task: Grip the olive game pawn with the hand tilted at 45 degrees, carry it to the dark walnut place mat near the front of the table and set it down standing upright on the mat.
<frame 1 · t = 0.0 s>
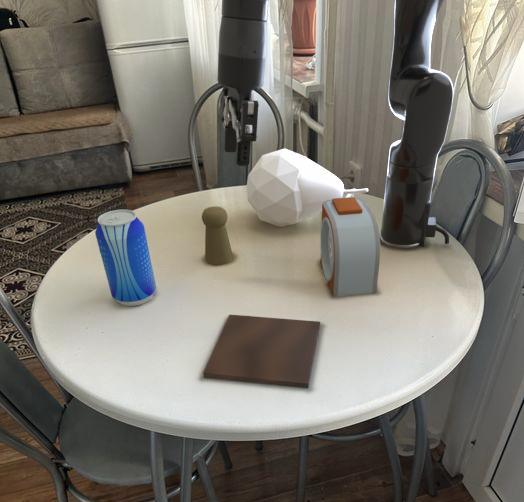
hand: (235, 158, 89), 22 cm above the table, tool pointing down, fingers open, 8 cm apart
pear ornament: (306, 222, 120), on the table
beer can: (135, 297, 96), on the table
olive game pawn: (219, 259, 107), on the table
place mat: (265, 350, 81), on the table
alarm clock: (345, 276, 99), on the table
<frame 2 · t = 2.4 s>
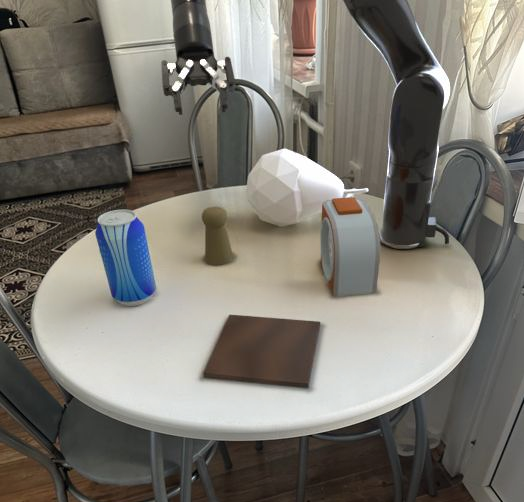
hand: (202, 111, 99), 27 cm above the table, tool tilted 45°, fingers open, 8 cm apart
nothing on the table moved.
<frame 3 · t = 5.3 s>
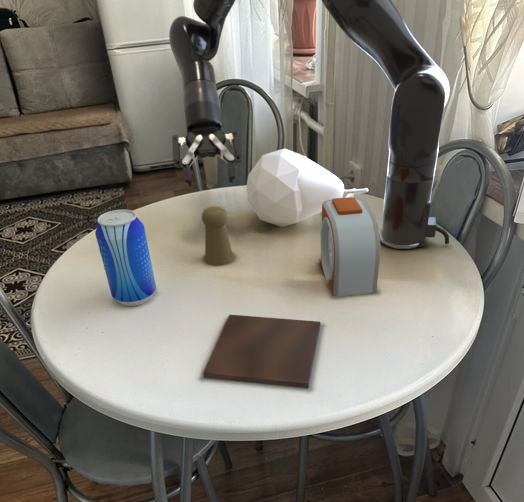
hand: (210, 182, 104), 14 cm above the table, tool tilted 45°, fingers open, 8 cm apart
nothing on the table moved.
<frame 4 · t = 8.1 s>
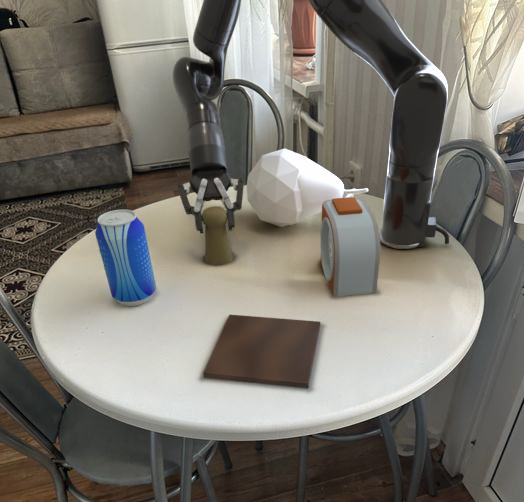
hand: (216, 230, 101), 7 cm above the table, tool tilted 45°, fingers closed on olive game pawn, 5 cm apart
olive game pawn: (219, 259, 107), on the table, touching gripper
everything else where it was.
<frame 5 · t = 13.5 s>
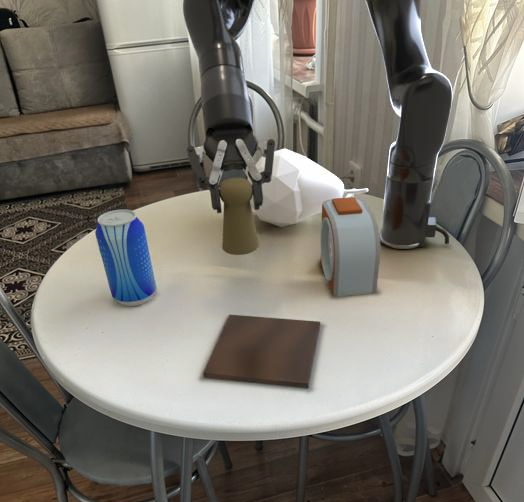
hand: (238, 209, 77), 20 cm above the table, tool tilted 45°, fingers closed on olive game pawn, 5 cm apart
olive game pawn: (240, 247, 83), point 13 cm above the table, touching gripper
everything else where it was.
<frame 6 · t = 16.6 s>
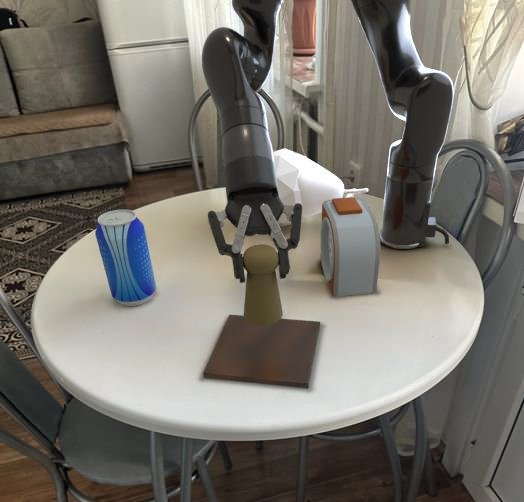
hand: (263, 279, 71), 14 cm above the table, tool tilted 45°, fingers closed on olive game pawn, 5 cm apart
olive game pawn: (263, 315, 77), point 7 cm above the table, touching gripper
everything else where it was.
when the fingers open (8 cm above the table, at t = 18.8 s): olive game pawn stays where it is, resting on place mat.
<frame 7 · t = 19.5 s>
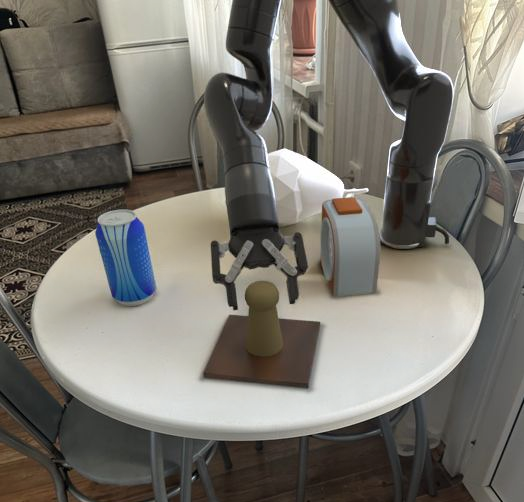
hand: (264, 306, 74), 9 cm above the table, tool tilted 45°, fingers open, 8 cm apart
olive game pawn: (264, 345, 81), point 1 cm above the table, touching place mat
everything else where it was.
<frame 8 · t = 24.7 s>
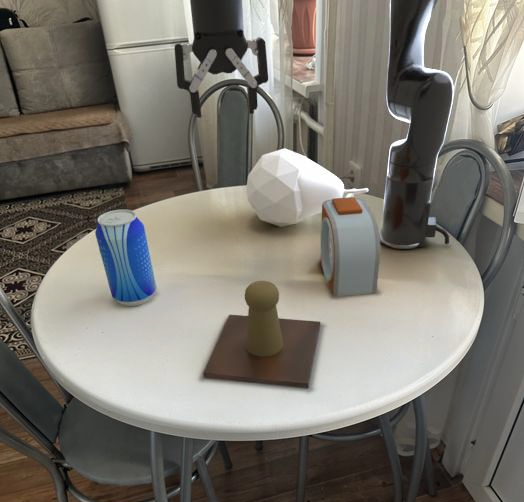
hand: (225, 114, 82), 30 cm above the table, tool pointing down, fingers open, 8 cm apart
nothing on the table moved.
at the end: olive game pawn inside the target area on the place mat (0.1 cm from its centre), point 0.8 cm above the place mat's base; olive game pawn tilted 0°; the gripper is holding nothing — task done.
